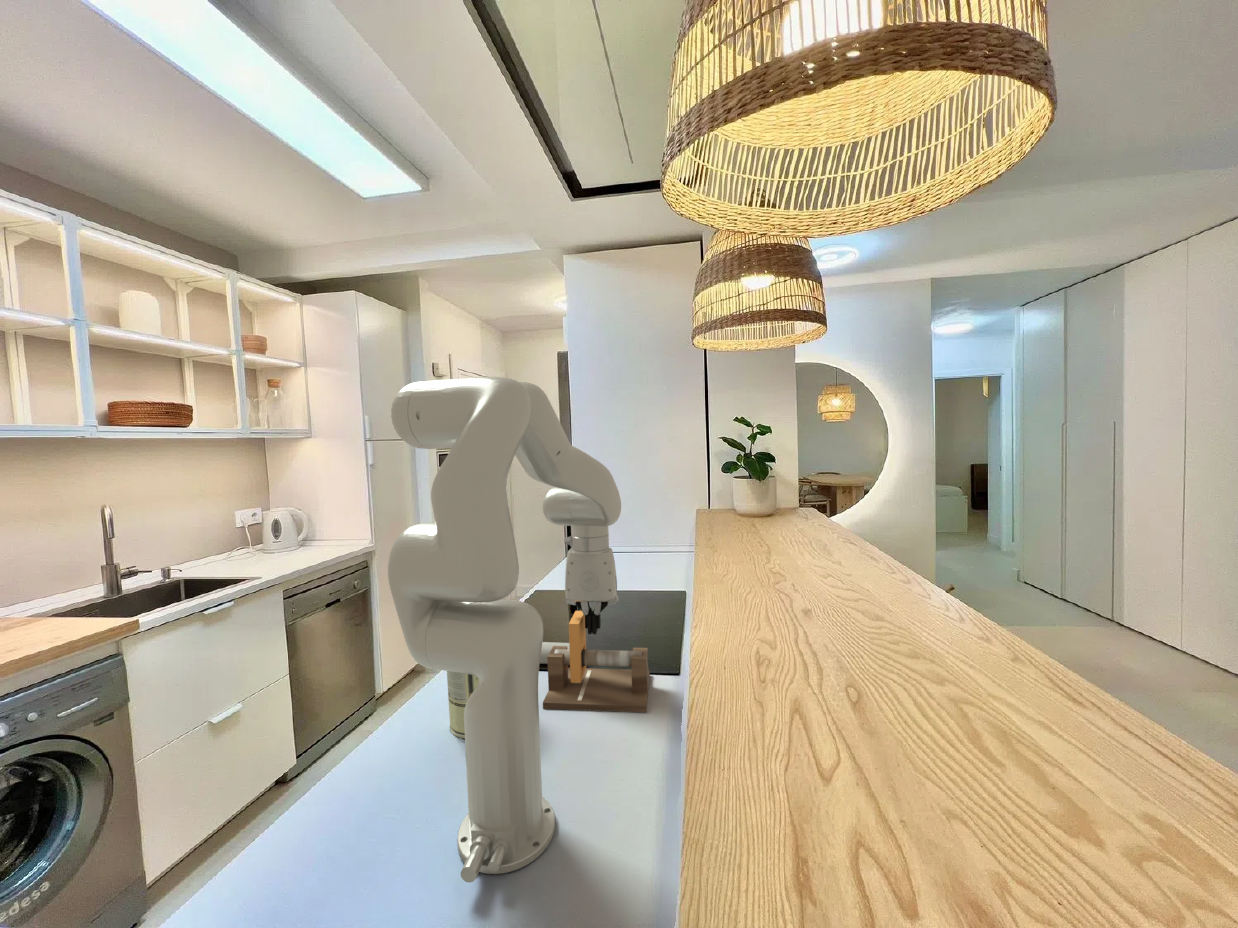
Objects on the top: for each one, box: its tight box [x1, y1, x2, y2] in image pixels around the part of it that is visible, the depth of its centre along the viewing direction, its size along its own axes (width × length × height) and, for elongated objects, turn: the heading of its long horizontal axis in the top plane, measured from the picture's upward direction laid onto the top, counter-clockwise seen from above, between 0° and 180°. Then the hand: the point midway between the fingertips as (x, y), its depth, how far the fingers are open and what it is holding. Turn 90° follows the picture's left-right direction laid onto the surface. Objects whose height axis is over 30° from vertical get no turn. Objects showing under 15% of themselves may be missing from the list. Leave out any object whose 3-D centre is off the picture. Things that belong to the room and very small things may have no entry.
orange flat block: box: [568, 610, 588, 683], centre depth 99 cm, size 7×2×12 cm, turn 174°
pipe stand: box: [542, 646, 650, 713], centre depth 99 cm, size 14×20×9 cm
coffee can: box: [446, 671, 480, 739], centre depth 89 cm, size 10×10×14 cm
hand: (593, 631), depth 99 cm, fingers closed
